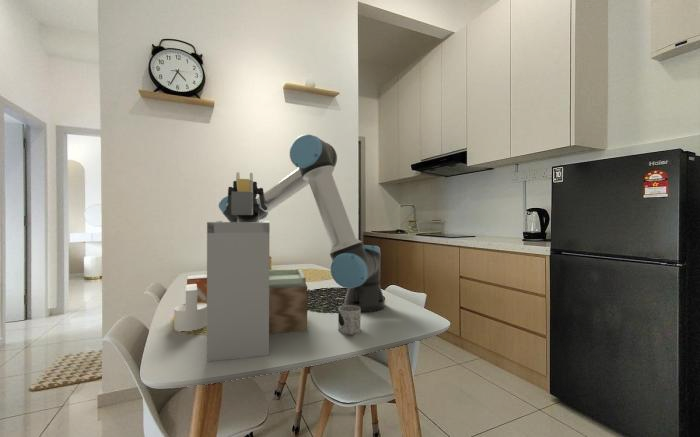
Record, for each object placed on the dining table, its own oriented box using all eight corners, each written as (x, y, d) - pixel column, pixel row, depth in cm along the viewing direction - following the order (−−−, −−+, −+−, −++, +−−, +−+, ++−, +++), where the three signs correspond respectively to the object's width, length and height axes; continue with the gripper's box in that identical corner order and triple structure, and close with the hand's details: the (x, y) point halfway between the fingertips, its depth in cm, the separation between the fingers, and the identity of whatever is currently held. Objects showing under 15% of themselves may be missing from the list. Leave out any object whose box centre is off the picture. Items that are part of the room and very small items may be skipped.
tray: (300, 275, 107) (300, 268, 107) (305, 286, 92) (305, 278, 92) (264, 277, 104) (264, 270, 104) (263, 288, 88) (263, 279, 88)
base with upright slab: (208, 328, 92) (208, 288, 92) (173, 334, 88) (173, 292, 88) (206, 319, 100) (206, 282, 100) (174, 323, 96) (174, 285, 96)
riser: (301, 312, 108) (301, 275, 108) (307, 330, 91) (307, 286, 91) (262, 315, 104) (263, 277, 104) (261, 334, 88) (261, 289, 88)
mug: (337, 326, 95) (337, 305, 95) (358, 326, 95) (359, 304, 95) (339, 339, 85) (340, 315, 85) (363, 339, 85) (363, 315, 85)
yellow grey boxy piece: (254, 215, 99) (254, 183, 99) (251, 214, 80) (251, 176, 80) (237, 214, 97) (237, 183, 97) (231, 214, 79) (231, 175, 79)
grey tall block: (268, 335, 87) (269, 221, 87) (268, 355, 75) (269, 222, 75) (215, 340, 84) (216, 221, 83) (206, 361, 71) (207, 222, 71)
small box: (186, 318, 101) (186, 278, 101) (186, 312, 106) (186, 275, 106) (213, 314, 104) (213, 276, 104) (212, 309, 110) (212, 273, 110)
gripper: (271, 225, 110) (272, 187, 90) (223, 225, 105) (213, 185, 86) (271, 207, 113) (272, 167, 93) (224, 207, 109) (215, 164, 89)
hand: (244, 176), depth 90 cm, fingers closed on yellow grey boxy piece, 3 cm apart
